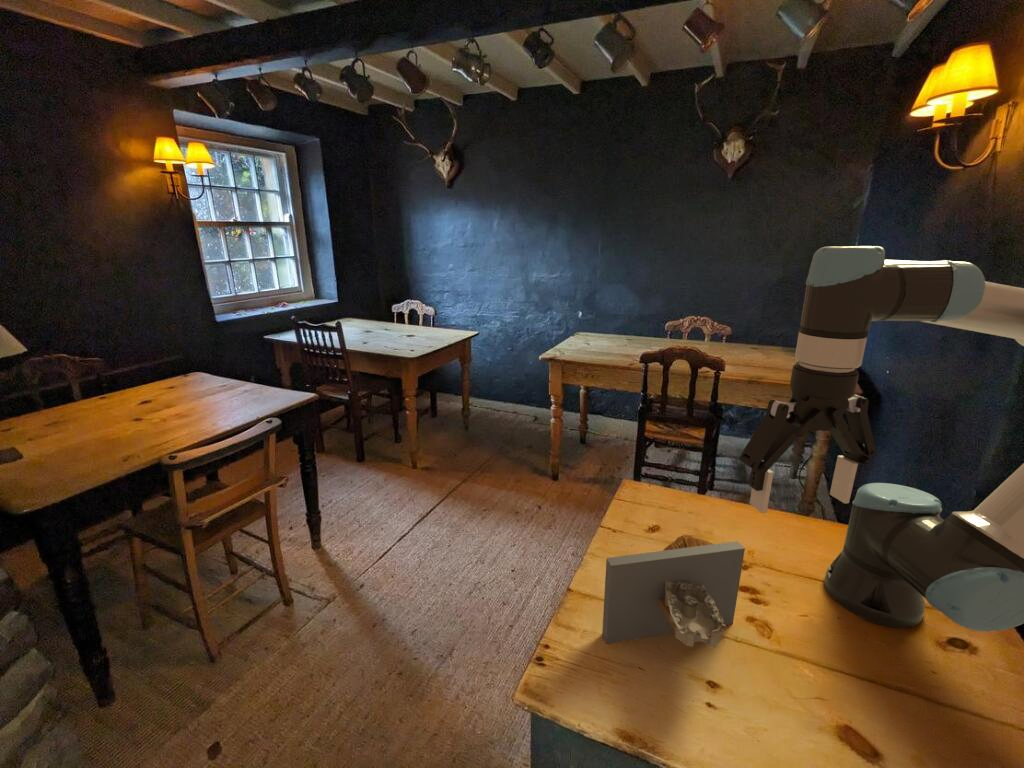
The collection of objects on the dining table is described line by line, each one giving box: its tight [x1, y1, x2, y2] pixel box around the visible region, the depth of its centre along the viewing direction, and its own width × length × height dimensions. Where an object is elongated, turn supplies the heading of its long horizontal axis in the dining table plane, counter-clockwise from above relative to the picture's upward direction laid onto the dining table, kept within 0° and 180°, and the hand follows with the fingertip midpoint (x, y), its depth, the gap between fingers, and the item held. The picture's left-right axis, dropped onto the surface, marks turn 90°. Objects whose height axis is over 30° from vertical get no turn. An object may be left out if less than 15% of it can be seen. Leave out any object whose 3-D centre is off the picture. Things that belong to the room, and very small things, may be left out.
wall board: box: [601, 540, 746, 645], centre depth 76 cm, size 24×10×16 cm, turn 100°
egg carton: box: [665, 581, 727, 649], centre depth 73 cm, size 11×8×4 cm
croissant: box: [662, 534, 713, 551], centre depth 100 cm, size 14×7×5 cm, turn 101°
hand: (799, 503), depth 68 cm, fingers open, 13 cm apart
